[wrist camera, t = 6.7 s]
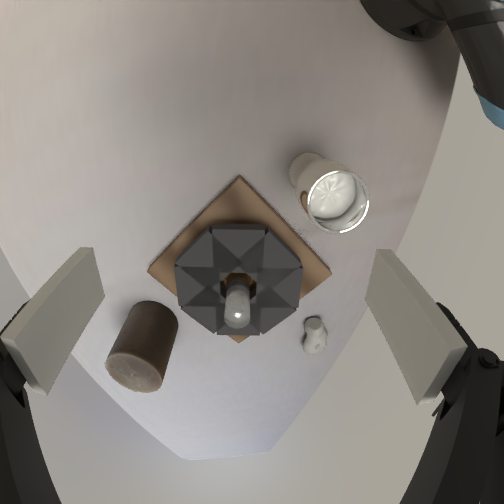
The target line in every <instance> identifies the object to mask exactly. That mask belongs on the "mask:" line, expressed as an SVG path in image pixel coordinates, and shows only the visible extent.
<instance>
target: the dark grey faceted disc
mask: <svg viewBox="0 0 504 504" xmlns="http://www.w3.org/2000/svg"><path fill="white" fill-rule="evenodd" d="M174 272H175V281H176V289H177V296H178V304H179V306H181V310H183V311H184V312H185V313H187V314H188V315H189V316H191V317H192V318H193V319H195V320H196V321H197V322H199V323H200V324H201V325H203V326H204V327H205V328H207V329H208V330H209V331H211V332H212V333H213V334H214V333H215V332H216V331H217V335H260V332H261V333H262V334H264V333H266V332H267V331H269V330H270V329H272V328H273V327H274V326H276V325H277V324H279V323H280V322H281V321H283V320H284V319H285V318H287V317H288V316H290V315H291V314H292V313H294V312H295V311H296V308H298V306H299V298H300V291H301V283H302V275H303V266H302V263H301V260H300V258H299V257H298V256H297V255H296V254H295V253H294V252H293V251H292V250H291V249H290V248H289V247H288V246H287V245H286V244H285V243H284V242H283V241H282V240H281V239H280V238H279V237H278V236H277V235H276V234H275V233H274V232H273V231H272V229H271V228H270V227H269V226H268V227H267V228H265V227H264V224H213V228H212V227H211V226H210V225H209V226H208V227H207V228H206V229H205V230H204V231H203V232H202V233H201V234H200V235H199V236H198V237H197V238H196V239H195V240H194V241H193V242H192V243H191V244H190V245H189V246H188V247H187V248H186V249H185V250H184V251H183V252H182V253H181V254H180V255H179V256H178V257H177V260H176V262H175V265H174ZM229 273H247V274H248V275H249V276H250V277H251V278H252V279H253V280H255V281H256V288H255V289H253V290H252V291H251V292H250V322H249V324H248V325H247V326H245V327H243V328H238V329H237V328H232V327H230V326H228V325H227V324H226V323H225V321H224V314H225V303H226V293H227V291H225V290H224V289H223V288H222V287H221V280H222V279H224V278H225V277H226V276H227V275H228V274H229Z"/></svg>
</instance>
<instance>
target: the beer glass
mask: <svg viewBox="0 0 504 504" xmlns="http://www.w3.org/2000/svg"><path fill="white" fill-rule="evenodd" d="M289 179H290V182H291V184H292V185H293V187H294V188H295V189H296V194H297V198H298V201H299V203H300V205H301V207H302V209H303V210H304V212H305V213H306V215H307V216H308V217H309V218H310V219H311V220H312V222H313V223H314V224H315V225H316V226H317V227H318V228H319V229H321V230H322V231H324V232H327V233H331V234H342V233H346V232H349V231H351V230H353V229H354V228H356V227H357V226H358V225H359V224H360V223H361V222H362V221H363V220H364V218H365V217H366V215H367V212H368V210H369V205H370V195H369V191H368V188H367V186H366V184H365V183H364V181H363V180H362V179H361V178H360V177H359V176H358V175H356V174H355V173H354V172H353V171H352V170H350V169H349V168H348V167H346V166H345V165H343V164H341V163H339V162H336V161H333V160H327V159H324V158H323V157H322V156H320V155H318V154H316V153H303V154H301V155H299V156H297V157H296V158H295V159H294V160H293V161H292V163H291V165H290V167H289Z"/></svg>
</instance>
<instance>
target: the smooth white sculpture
mask: <svg viewBox="0 0 504 504" xmlns="http://www.w3.org/2000/svg"><path fill="white" fill-rule="evenodd" d="M304 328H305V331H306V332H307V337H306V339H305V341H304V343H303V350H304V352H305V353H307V354H309V355H314V354H317V353H319V352H321V351H322V350H323V349H324V348H325V347H326V345H327V341H326V339H327V337H328V333H326V330H325V329H324V324H323V322H322V321H321V320H320V319H318V318H309V319H308V320H307V321H306V322H305V324H304Z"/></svg>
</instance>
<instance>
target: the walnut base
mask: <svg viewBox="0 0 504 504" xmlns="http://www.w3.org/2000/svg"><path fill="white" fill-rule="evenodd" d="M213 224H264V227H265V228H267V227H268V226H269V227H270V228H271V229H272V231H273V232H274V233H275V234H276V235H277V236H278V237H279V238H280V239H281V240H282V241H283V242H284V243H285V244H286V245H287V246H288V247H289V248H290V249H291V250H292V251H293V252H294V253H295V254H296V255H297V256H298V257H299V258H300V260H301V263H302V266H303V275H302V283H301V291H300V298H299V300H300V299H301V298H302V297H304V296H305V295H306V294H308V293H309V292H310V291H311V290H313V289H314V288H315V287H317V286H318V285H319V284H321V283H322V282H323V281H324V280H326V279H327V278H328V277H329V276H331V275H332V273H331V271H330V269H329V268H328V266H327V265H326V264H325V263H324V262H323V261H322V260H321V259H320V258H319V257H318V256H317V254H316V253H315V252H314V251H313V250H312V249H311V248H310V247H309V246H308V245H307V244H306V243H305V242H304V241H303V239H302V238H301V237H300V236H299V235H298V234H297V233H296V232H295V231H294V230H293V229H292V228H291V227H290V226H289V225H288V224H287V223H286V222H285V221H284V220H283V218H282V217H281V216H280V215H279V214H278V213H277V212H276V211H275V210H274V209H273V208H272V207H271V206H270V205H269V204H268V203H267V202H266V201H265V200H264V199H263V198H262V197H261V196H260V195H259V194H258V193H257V192H256V191H255V190H254V189H253V188H252V187H251V186H250V185H249V184H248V183H247V182H246V181H245V180H244V179H243V178H242V177H241V176H239V177H238V178H237V179H235V180H234V181H233V182H232V183H231V184H230V185H229V186H228V187H227V188H226V189H225V190H224V191H223V192H222V193H221V194H220V195H219V196H218V197H217V198H216V199H215V200H214V201H213V202H212V203H211V204H210V205H209V206H208V207H207V208H205V209H204V210H203V211H202V212H201V213H200V214H199V215H198V216H197V217H196V218H195V219H194V220H193V221H192V222H191V223H190V225H189V226H188V227H187V228H186V229H185V230H184V231H183V232H182V233H181V234H180V235H179V236H178V237H177V238H176V239H175V240H174V241H173V242H172V243H171V244H170V245H169V246H168V247H167V248H166V249H165V250H164V251H163V252H162V253H161V255H160V256H159V257H158V258H157V259H156V260H155V261H154V262H153V263H152V264H151V265H150V267H149V268H148V270H147V272H148V273H149V274H150V275H151V276H152V277H154V278H155V279H156V280H157V281H158V282H160V283H161V284H162V285H163V286H164V287H166V288H167V289H168V290H169V291H171V292H172V293H173V294H174V295H176V296H177V289H176V281H175V272H174V265H175V262H176V260H177V257H178V256H179V255H180V254H181V253H182V252H183V251H184V250H185V249H186V248H187V247H188V246H189V245H190V244H191V243H192V242H193V241H194V240H195V239H196V238H197V237H198V236H199V235H200V234H201V233H202V232H203V231H204V230H205V229H206V228H207V227H208V226H209V225H210V226H211V227H212V228H213ZM221 287H222V288H223V289H224V290H225V291H227V284H226V277H225V278H224V279H222V280H221ZM255 288H256V281H255V280H253V279H252V278H251V284H250V286H249V290H250V292H251V291H252V290H253V289H255ZM177 297H178V296H177ZM228 336H229V337H231V338H232V339H233V340H235V341H236V342H238V343H240V342H242V341H243V340H245V339H246V338H247V337H249V336H250V335H228Z"/></svg>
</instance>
